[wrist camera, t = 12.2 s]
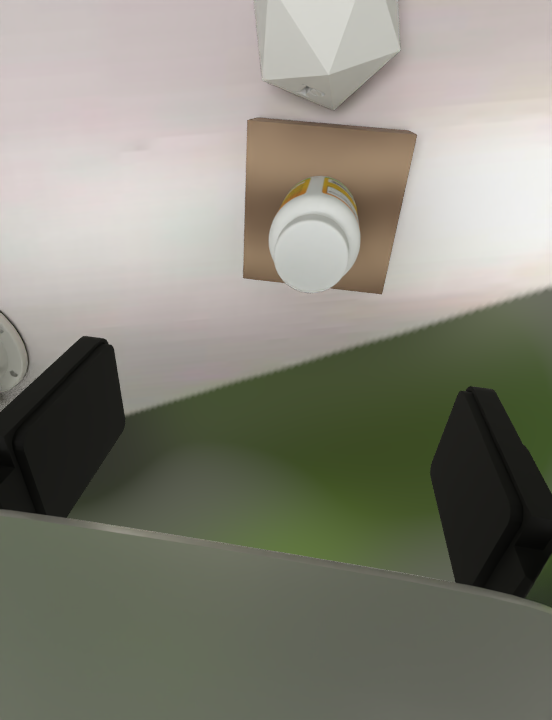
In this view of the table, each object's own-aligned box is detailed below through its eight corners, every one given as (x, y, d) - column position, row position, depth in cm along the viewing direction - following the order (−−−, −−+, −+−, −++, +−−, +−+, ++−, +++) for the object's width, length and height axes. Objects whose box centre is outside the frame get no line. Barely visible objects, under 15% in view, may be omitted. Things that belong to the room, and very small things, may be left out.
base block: (378, 275, 36) (381, 294, 33) (252, 261, 37) (243, 278, 34) (408, 130, 30) (417, 134, 27) (257, 117, 31) (247, 120, 28)
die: (237, 10, 28) (231, 113, 25) (292, -169, 21) (295, -58, 18) (341, 60, 31) (349, 158, 28) (421, -81, 24) (445, 28, 21)
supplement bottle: (283, 252, 32) (263, 305, 24) (280, 175, 29) (256, 206, 21) (355, 251, 31) (359, 306, 23) (359, 173, 28) (365, 204, 20)
